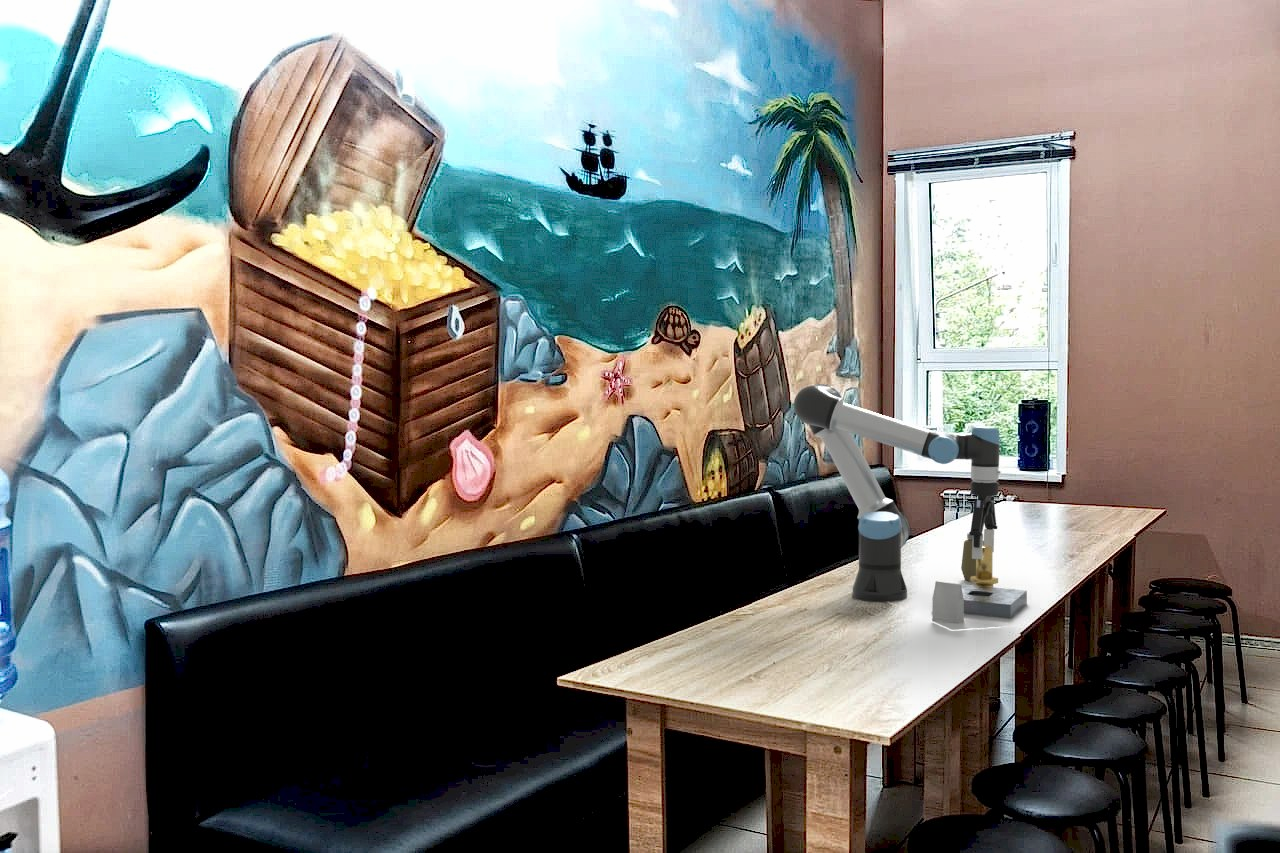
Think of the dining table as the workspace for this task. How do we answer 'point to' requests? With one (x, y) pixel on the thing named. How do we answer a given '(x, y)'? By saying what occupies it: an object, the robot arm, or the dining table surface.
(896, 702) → the dining table surface
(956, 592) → the tea bag
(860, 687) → the dining table surface
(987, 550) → the brass door knob
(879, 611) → the dining table surface
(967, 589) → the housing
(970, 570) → the squeeze bottle
